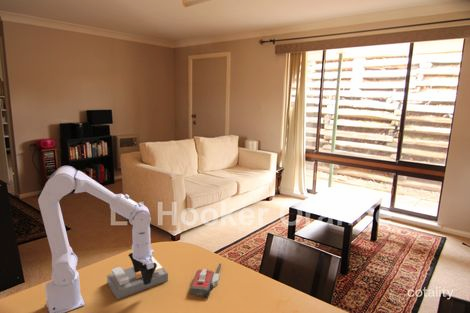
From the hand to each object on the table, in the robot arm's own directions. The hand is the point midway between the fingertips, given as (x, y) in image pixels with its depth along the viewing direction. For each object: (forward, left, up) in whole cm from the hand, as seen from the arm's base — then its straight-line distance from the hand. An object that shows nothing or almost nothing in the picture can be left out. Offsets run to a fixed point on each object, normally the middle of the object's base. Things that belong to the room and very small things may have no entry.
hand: (142, 277), depth 105 cm
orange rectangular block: (0, +3, -1) cm, 3 cm away
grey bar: (-6, +5, 0) cm, 8 cm away
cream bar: (+6, +5, 0) cm, 8 cm away
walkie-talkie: (+21, -9, -5) cm, 23 cm away
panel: (0, +5, -4) cm, 7 cm away
